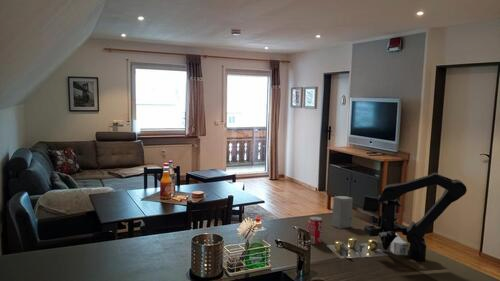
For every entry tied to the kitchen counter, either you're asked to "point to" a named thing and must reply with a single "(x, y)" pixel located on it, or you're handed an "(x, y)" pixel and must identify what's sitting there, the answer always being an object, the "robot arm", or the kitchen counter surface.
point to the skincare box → (342, 212)
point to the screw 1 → (341, 248)
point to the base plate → (354, 253)
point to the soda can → (315, 229)
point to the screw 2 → (376, 245)
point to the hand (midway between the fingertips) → (385, 249)
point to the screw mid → (354, 244)
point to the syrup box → (399, 246)
